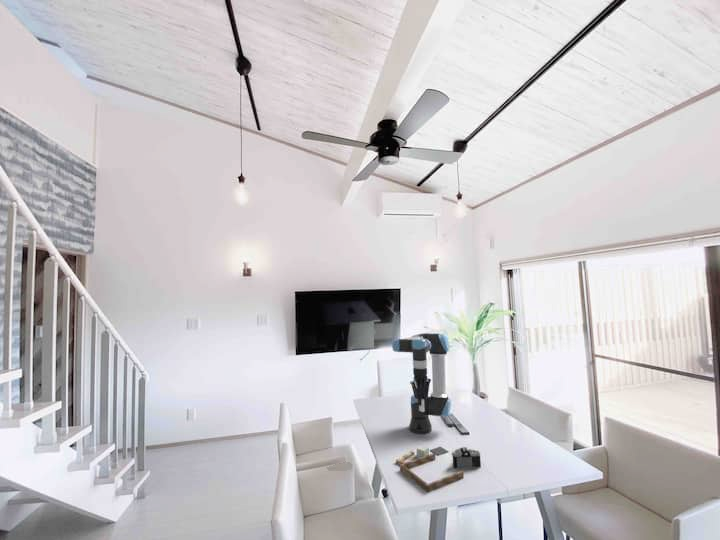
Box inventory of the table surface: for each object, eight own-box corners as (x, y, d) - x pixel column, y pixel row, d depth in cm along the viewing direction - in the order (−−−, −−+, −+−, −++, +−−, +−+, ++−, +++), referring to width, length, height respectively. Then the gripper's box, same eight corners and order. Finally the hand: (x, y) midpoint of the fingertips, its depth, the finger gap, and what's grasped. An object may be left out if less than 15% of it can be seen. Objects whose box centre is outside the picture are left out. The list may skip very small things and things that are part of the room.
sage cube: (421, 454, 193) (421, 445, 193) (429, 456, 190) (428, 447, 190) (417, 457, 189) (416, 448, 189) (424, 460, 186) (424, 451, 186)
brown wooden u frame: (434, 458, 187) (433, 453, 187) (463, 477, 167) (463, 471, 168) (400, 470, 176) (400, 464, 176) (427, 492, 156) (427, 486, 157)
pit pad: (440, 447, 200) (440, 446, 200) (448, 452, 194) (448, 451, 194) (429, 450, 196) (429, 449, 196) (437, 455, 190) (437, 454, 190)
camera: (477, 460, 184) (476, 442, 184) (483, 469, 175) (482, 449, 175) (449, 461, 184) (448, 442, 185) (453, 469, 175) (452, 450, 176)
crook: (412, 454, 193) (411, 450, 193) (421, 458, 188) (421, 455, 188) (396, 463, 184) (396, 460, 184) (405, 467, 179) (405, 464, 179)
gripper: (424, 364, 189) (426, 406, 188) (406, 367, 183) (408, 411, 181) (433, 367, 182) (435, 410, 181) (414, 370, 176) (416, 415, 175)
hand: (421, 411), depth 181 cm, fingers closed
